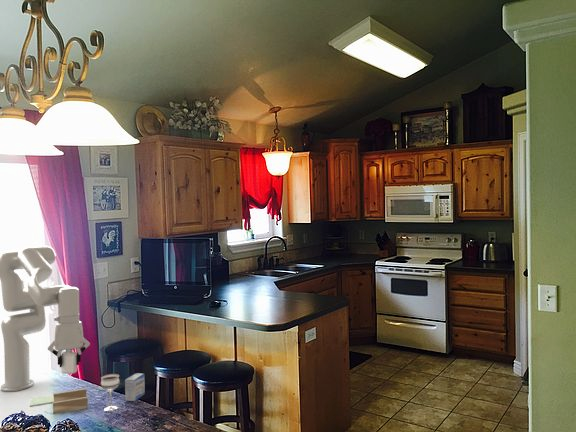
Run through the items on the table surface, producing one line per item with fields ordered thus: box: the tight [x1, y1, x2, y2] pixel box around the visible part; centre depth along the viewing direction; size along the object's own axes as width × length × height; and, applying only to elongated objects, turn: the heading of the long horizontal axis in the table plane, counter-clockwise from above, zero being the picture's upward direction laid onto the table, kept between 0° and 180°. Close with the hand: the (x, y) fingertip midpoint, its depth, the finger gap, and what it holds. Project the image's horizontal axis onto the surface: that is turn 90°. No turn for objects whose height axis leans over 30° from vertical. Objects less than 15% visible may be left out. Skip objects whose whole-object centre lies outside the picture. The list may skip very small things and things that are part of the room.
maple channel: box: [52, 388, 89, 415], centre depth 185 cm, size 11×12×4 cm
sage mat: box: [29, 393, 54, 408], centre depth 191 cm, size 9×9×1 cm
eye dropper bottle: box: [60, 349, 78, 375], centre depth 185 cm, size 4×6×12 cm
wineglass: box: [100, 373, 120, 412], centre depth 182 cm, size 7×7×12 cm
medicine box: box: [124, 372, 146, 402], centre depth 193 cm, size 8×4×9 cm, turn 168°
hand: (69, 364), depth 185 cm, fingers closed on eye dropper bottle, 5 cm apart
